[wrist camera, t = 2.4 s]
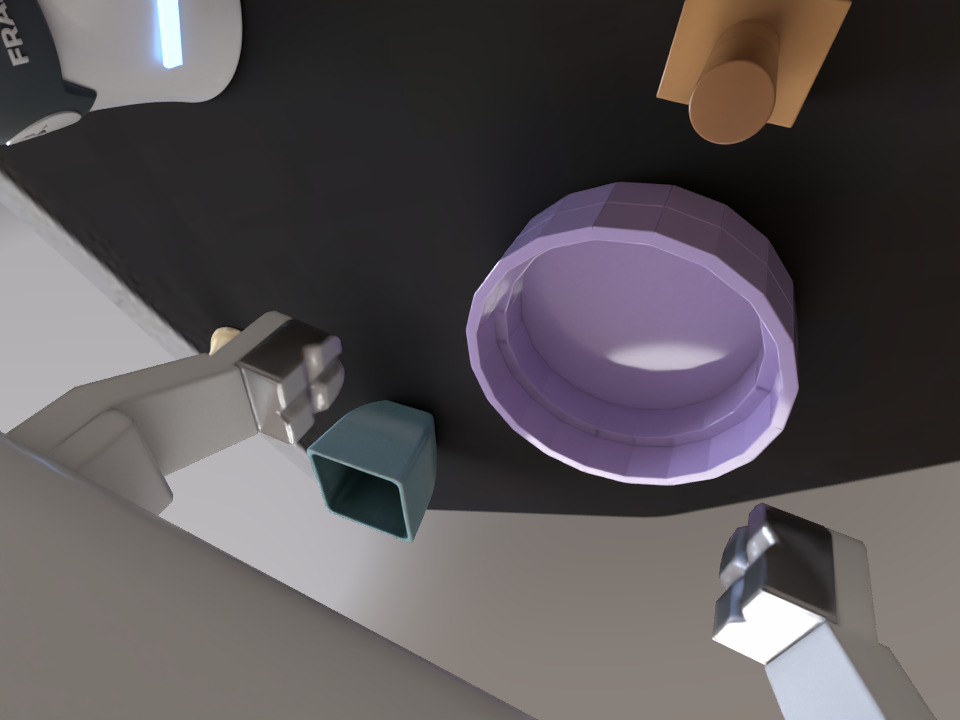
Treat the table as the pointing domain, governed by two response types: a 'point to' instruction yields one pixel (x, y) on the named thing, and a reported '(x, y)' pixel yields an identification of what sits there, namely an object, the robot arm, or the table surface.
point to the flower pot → (378, 467)
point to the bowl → (639, 335)
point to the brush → (748, 62)
